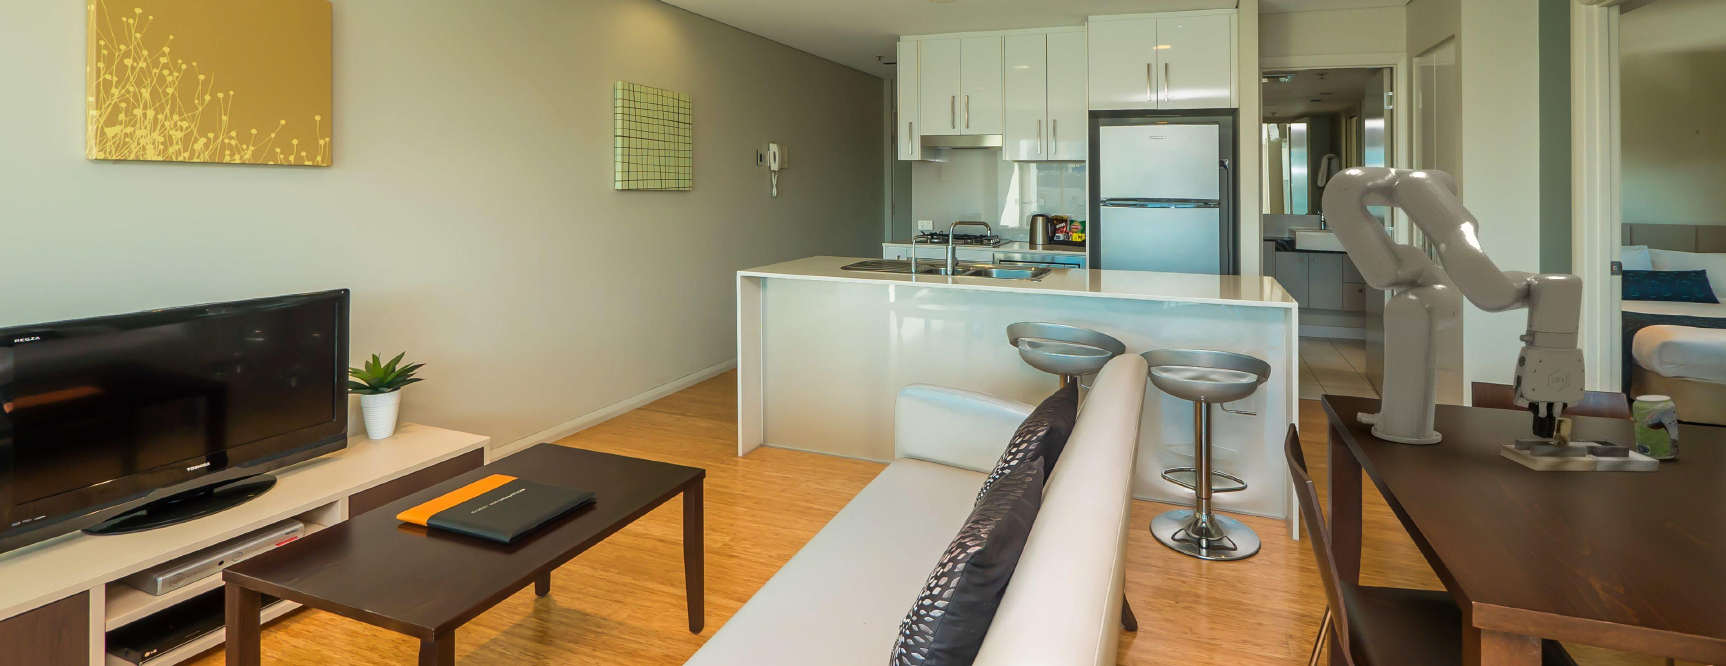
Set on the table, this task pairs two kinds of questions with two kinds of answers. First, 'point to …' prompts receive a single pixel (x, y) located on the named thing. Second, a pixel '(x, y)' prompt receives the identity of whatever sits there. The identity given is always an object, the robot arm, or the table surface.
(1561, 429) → the bolt
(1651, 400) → the beverage can
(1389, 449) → the table surface
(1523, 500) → the table surface
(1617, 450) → the lock board
